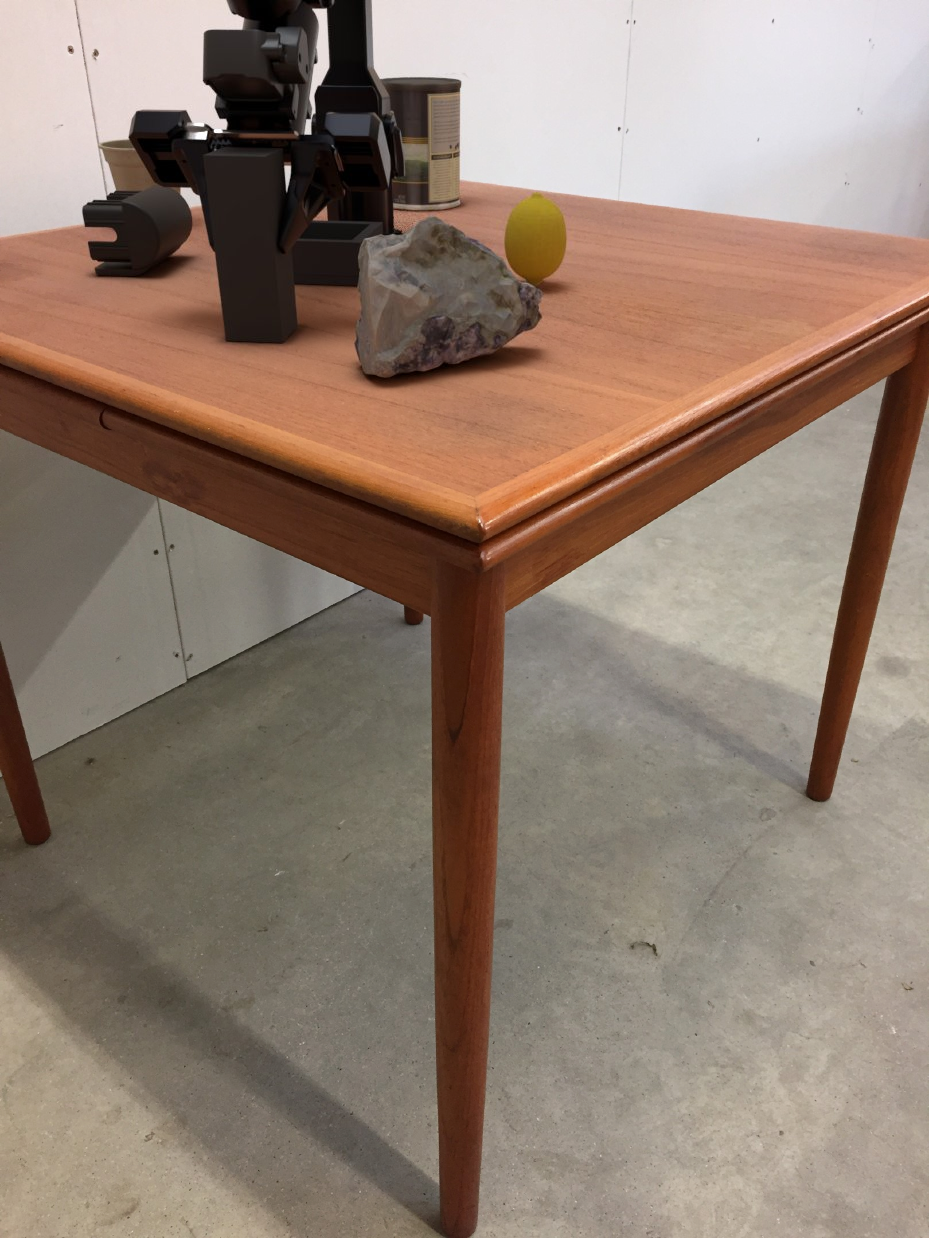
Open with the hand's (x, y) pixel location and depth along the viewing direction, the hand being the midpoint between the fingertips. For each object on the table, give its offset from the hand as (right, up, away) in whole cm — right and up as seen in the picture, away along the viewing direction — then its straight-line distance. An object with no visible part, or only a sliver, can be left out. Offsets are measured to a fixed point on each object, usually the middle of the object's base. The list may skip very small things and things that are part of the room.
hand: (247, 249), depth 74 cm
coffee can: (+10, +26, +55) cm, 62 cm away
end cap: (-15, +7, +25) cm, 30 cm away
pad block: (0, -5, +5) cm, 7 cm away
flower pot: (-20, +18, +43) cm, 51 cm away
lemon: (+22, +3, +18) cm, 29 cm away
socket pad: (+2, +6, +23) cm, 23 cm away
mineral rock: (+15, -9, -2) cm, 17 cm away
